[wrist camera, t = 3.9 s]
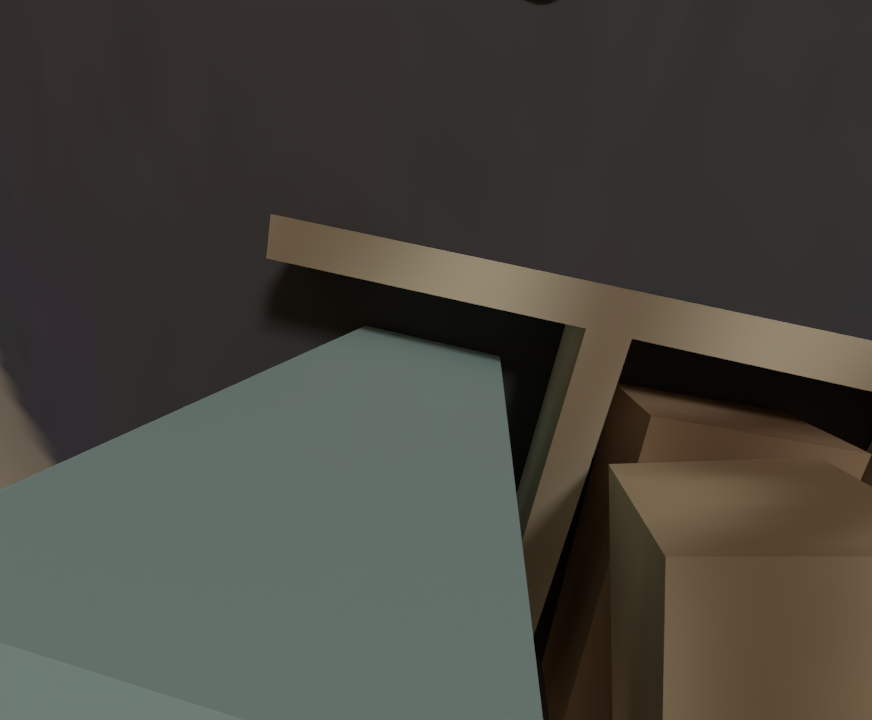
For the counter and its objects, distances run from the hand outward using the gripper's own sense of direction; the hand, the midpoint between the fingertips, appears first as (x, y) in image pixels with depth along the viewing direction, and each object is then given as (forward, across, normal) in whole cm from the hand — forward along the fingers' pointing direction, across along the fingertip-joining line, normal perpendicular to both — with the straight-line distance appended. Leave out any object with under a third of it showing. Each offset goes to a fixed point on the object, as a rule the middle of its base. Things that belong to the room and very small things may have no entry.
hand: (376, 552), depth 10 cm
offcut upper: (0, -8, 0) cm, 8 cm away
